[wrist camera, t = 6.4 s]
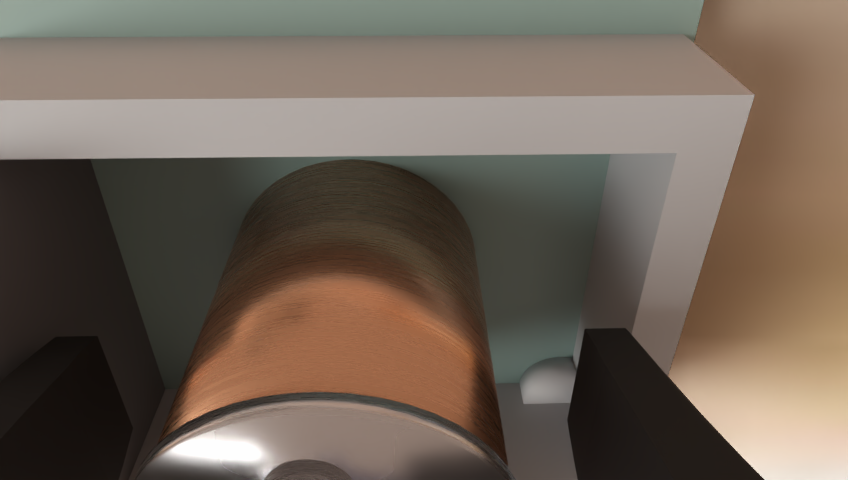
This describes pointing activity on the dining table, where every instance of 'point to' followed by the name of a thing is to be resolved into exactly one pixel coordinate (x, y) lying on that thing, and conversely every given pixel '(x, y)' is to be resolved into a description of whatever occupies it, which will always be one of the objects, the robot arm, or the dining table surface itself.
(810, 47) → the dining table surface
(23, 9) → the grey green open box
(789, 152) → the dining table surface
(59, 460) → the robot arm
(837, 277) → the dining table surface
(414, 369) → the spout can
